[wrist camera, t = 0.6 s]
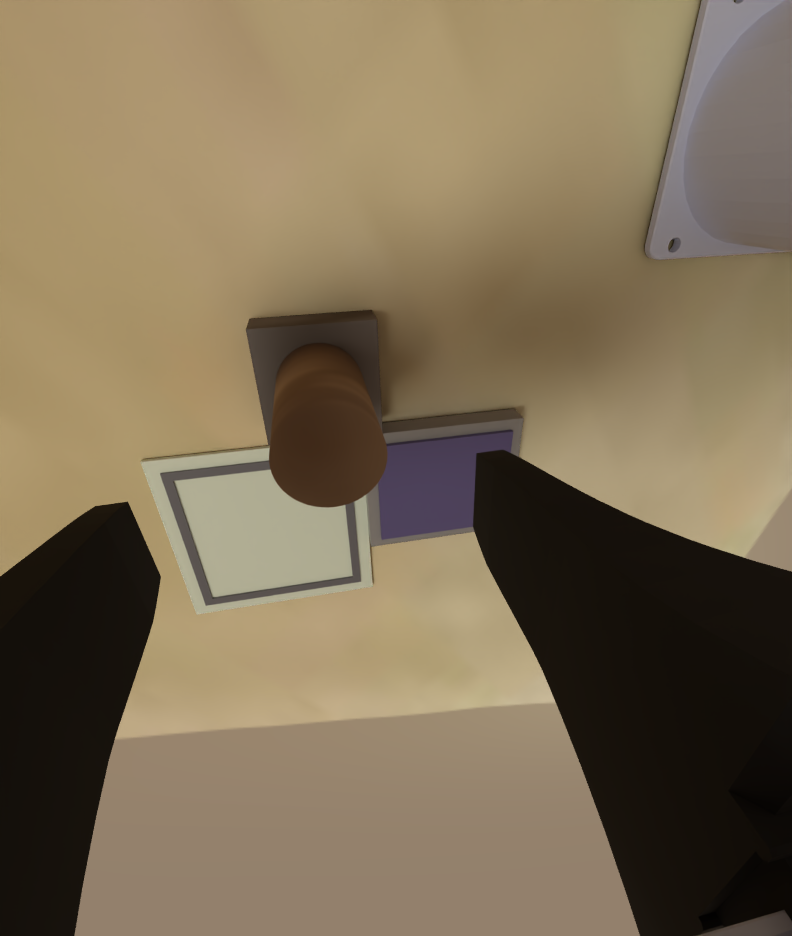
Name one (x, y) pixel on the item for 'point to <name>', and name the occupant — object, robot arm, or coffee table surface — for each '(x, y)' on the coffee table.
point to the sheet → (254, 532)
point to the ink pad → (435, 474)
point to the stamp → (321, 403)
